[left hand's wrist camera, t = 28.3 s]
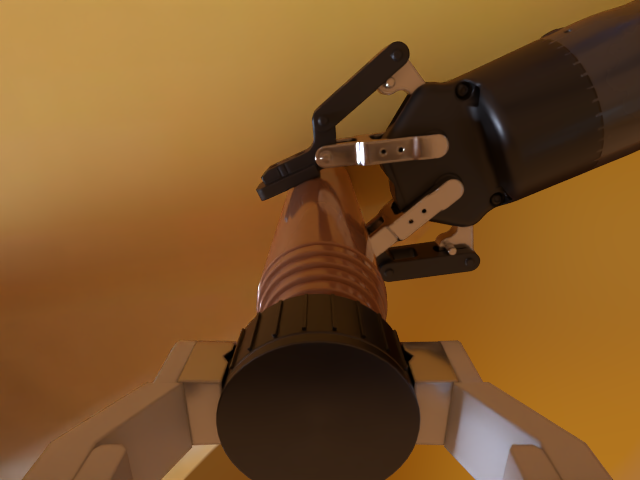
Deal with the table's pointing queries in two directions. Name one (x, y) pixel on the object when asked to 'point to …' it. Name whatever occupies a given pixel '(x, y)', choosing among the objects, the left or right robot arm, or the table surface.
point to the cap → (318, 394)
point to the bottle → (322, 247)
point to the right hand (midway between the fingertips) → (281, 229)
